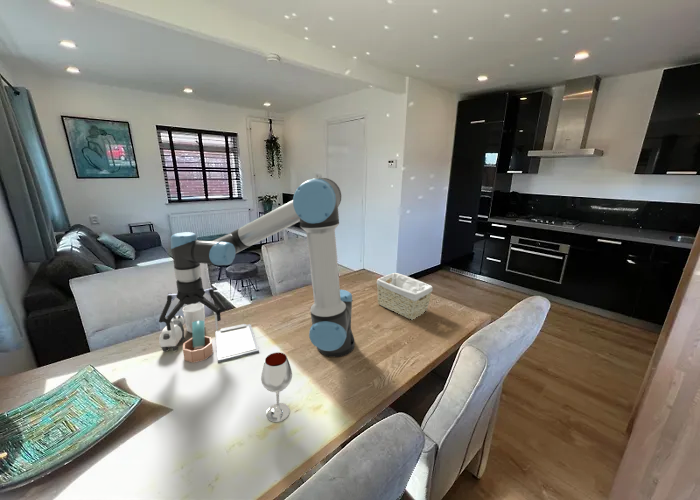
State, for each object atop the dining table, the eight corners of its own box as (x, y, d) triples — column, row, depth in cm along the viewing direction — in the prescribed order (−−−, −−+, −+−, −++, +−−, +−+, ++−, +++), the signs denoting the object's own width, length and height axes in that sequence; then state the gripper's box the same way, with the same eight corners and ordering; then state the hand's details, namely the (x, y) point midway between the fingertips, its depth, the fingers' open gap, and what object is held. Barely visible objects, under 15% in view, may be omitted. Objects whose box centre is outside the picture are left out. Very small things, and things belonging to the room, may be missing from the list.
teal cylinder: (206, 350, 101) (204, 320, 105) (193, 352, 99) (192, 321, 103) (204, 351, 104) (203, 322, 108) (192, 353, 102) (191, 323, 106)
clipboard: (259, 352, 105) (258, 348, 105) (218, 362, 99) (217, 358, 98) (250, 325, 122) (250, 322, 122) (215, 333, 116) (214, 329, 115)
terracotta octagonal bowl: (213, 357, 101) (212, 347, 100) (184, 364, 97) (182, 353, 96) (212, 343, 109) (211, 333, 108) (185, 349, 105) (183, 339, 103)
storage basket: (431, 312, 140) (434, 285, 136) (412, 323, 129) (416, 294, 125) (392, 296, 156) (395, 271, 152) (373, 304, 146) (375, 278, 141)
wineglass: (266, 401, 83) (263, 349, 78) (294, 400, 84) (293, 349, 79) (260, 425, 75) (256, 370, 70) (291, 424, 76) (289, 369, 71)
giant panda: (176, 353, 103) (172, 330, 100) (159, 354, 102) (155, 331, 99) (191, 330, 117) (188, 310, 114) (176, 331, 116) (173, 311, 113)
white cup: (197, 334, 114) (194, 313, 111) (181, 332, 115) (177, 310, 113) (210, 324, 121) (208, 304, 119) (194, 322, 123) (192, 301, 120)
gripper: (227, 269, 103) (232, 320, 109) (145, 279, 92) (155, 335, 98) (229, 276, 97) (234, 330, 103) (141, 288, 86) (153, 347, 92)
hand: (196, 333), depth 100 cm, fingers open, 13 cm apart
